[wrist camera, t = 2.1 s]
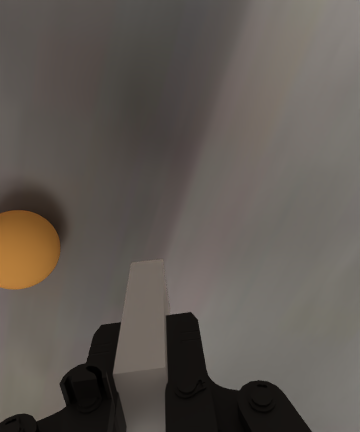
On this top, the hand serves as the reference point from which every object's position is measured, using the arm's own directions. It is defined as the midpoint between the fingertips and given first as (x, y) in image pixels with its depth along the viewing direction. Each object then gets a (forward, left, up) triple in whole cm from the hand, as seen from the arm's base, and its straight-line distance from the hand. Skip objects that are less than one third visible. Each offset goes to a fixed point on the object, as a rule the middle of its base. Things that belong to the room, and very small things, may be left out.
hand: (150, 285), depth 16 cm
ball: (0, +10, -8) cm, 12 cm away
